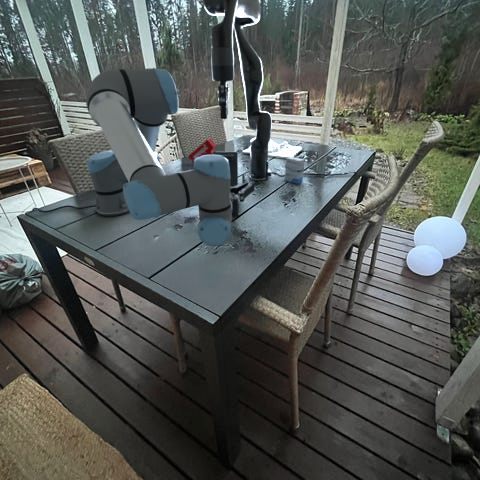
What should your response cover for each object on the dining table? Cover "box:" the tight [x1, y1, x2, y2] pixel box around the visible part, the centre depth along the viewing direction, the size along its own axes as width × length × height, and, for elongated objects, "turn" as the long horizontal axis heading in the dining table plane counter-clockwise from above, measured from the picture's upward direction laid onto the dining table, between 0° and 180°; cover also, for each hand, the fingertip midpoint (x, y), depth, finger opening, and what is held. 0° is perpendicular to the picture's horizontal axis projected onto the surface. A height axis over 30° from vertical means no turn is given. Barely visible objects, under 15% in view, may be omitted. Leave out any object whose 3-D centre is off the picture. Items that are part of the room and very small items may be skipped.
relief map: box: [242, 138, 304, 160], centre depth 192 cm, size 27×35×5 cm
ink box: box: [284, 156, 306, 185], centre depth 140 cm, size 8×5×12 cm, turn 47°
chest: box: [232, 199, 239, 217], centre depth 114 cm, size 15×9×9 cm, turn 0°
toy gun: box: [188, 138, 217, 164], centre depth 168 cm, size 18×4×15 cm
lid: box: [213, 151, 239, 187], centre depth 101 cm, size 16×9×8 cm
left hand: (223, 178), depth 91 cm, fingers open, 13 cm apart
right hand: (224, 117), depth 99 cm, fingers open, 8 cm apart
